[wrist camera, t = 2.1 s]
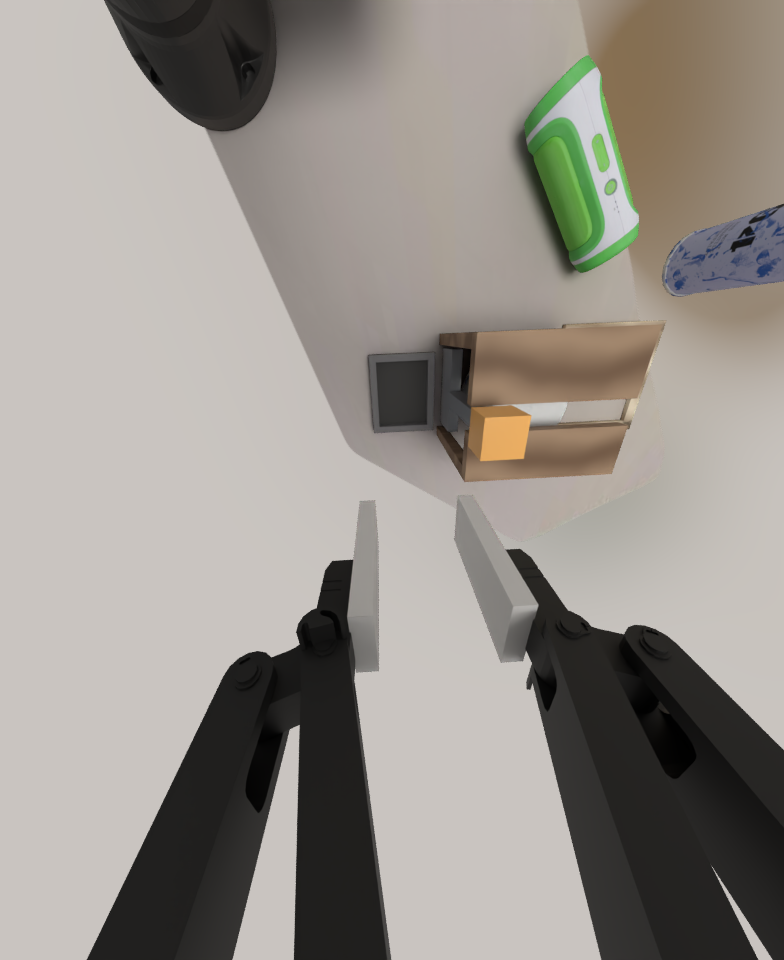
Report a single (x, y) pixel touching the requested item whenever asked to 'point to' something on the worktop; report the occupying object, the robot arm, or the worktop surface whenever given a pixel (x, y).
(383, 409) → the tray
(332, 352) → the worktop surface
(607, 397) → the walnut tunnel
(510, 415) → the slider
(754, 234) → the aerosol can
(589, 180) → the speaker
